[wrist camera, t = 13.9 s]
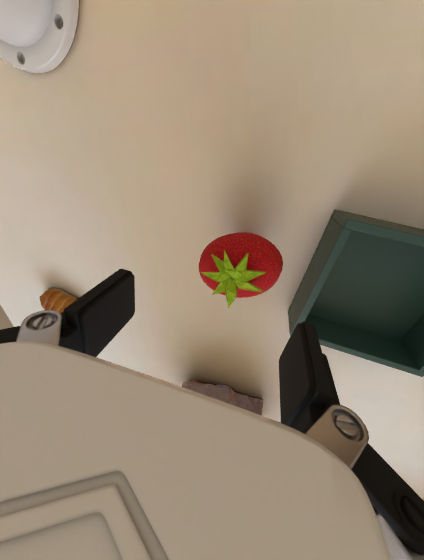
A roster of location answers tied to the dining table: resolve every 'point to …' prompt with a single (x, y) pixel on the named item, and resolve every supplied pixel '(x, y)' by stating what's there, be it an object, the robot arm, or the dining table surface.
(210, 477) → the robot arm
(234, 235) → the strawberry
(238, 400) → the food item
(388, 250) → the open box
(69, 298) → the pastry
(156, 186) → the dining table surface
